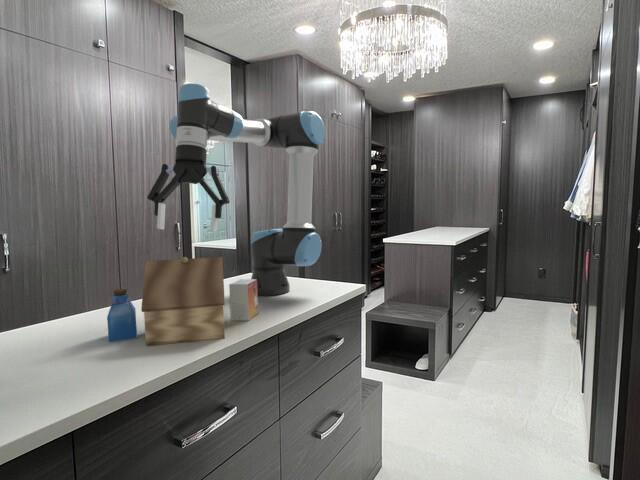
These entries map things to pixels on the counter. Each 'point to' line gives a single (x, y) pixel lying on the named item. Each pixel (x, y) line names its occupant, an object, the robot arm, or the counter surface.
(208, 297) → the lid
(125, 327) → the perfume bottle
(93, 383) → the counter surface
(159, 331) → the box
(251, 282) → the small box
